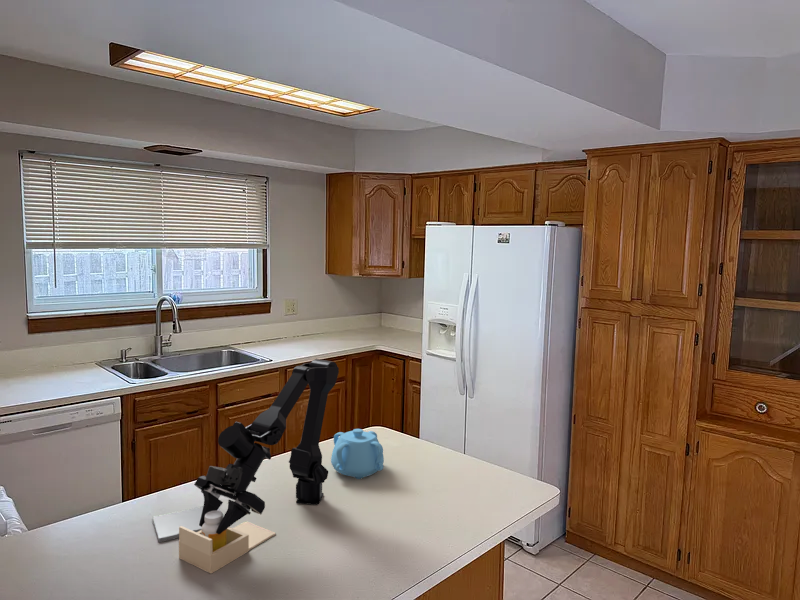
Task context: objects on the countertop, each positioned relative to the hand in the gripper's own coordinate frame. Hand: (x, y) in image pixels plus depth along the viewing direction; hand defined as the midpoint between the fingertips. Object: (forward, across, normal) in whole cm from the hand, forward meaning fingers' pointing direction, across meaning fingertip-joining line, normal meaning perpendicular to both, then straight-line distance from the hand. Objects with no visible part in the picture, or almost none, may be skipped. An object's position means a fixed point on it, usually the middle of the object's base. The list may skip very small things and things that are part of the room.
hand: (209, 529), depth 128 cm
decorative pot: (-36, -1, +46) cm, 59 cm away
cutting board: (-1, -17, +10) cm, 19 cm away
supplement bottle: (+4, 0, +6) cm, 7 cm away
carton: (+1, 0, +9) cm, 9 cm away
